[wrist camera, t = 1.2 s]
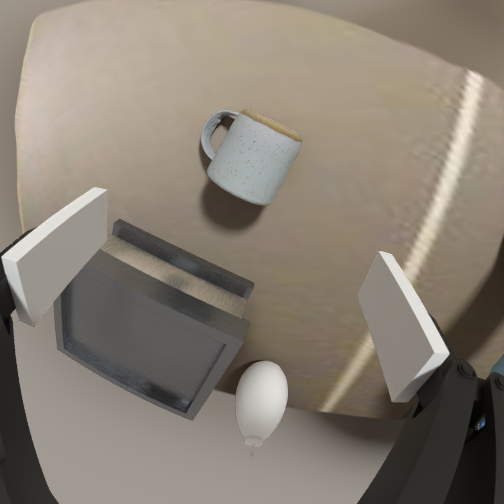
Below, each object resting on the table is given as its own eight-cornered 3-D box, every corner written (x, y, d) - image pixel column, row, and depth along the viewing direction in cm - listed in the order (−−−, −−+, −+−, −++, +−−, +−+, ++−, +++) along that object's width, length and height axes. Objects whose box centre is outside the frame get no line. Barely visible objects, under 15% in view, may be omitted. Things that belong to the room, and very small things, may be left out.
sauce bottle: (242, 347, 47) (216, 444, 31) (291, 350, 45) (281, 451, 29) (244, 378, 50) (224, 466, 34) (289, 381, 49) (279, 472, 33)
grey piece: (266, 261, 39) (247, 343, 26) (220, 345, 47) (194, 421, 34) (125, 195, 38) (51, 242, 24) (107, 289, 46) (55, 347, 32)
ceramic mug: (306, 134, 31) (308, 139, 24) (273, 195, 35) (266, 216, 28) (222, 94, 31) (201, 89, 24) (194, 156, 34) (168, 167, 28)
